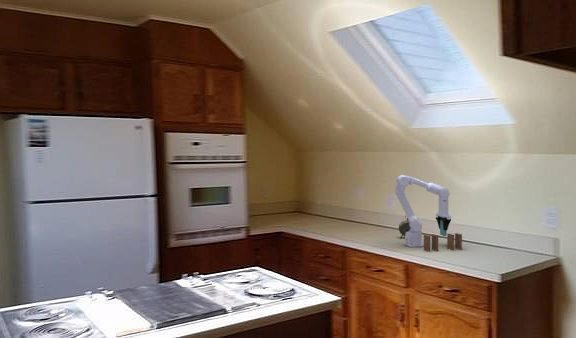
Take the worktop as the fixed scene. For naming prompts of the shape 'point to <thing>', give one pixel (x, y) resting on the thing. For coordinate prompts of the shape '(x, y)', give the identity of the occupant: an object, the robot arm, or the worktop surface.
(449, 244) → the domino
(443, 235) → the teal domino
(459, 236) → the domino
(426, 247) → the brown wooden block
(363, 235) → the worktop surface
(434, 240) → the domino
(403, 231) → the alarm clock
